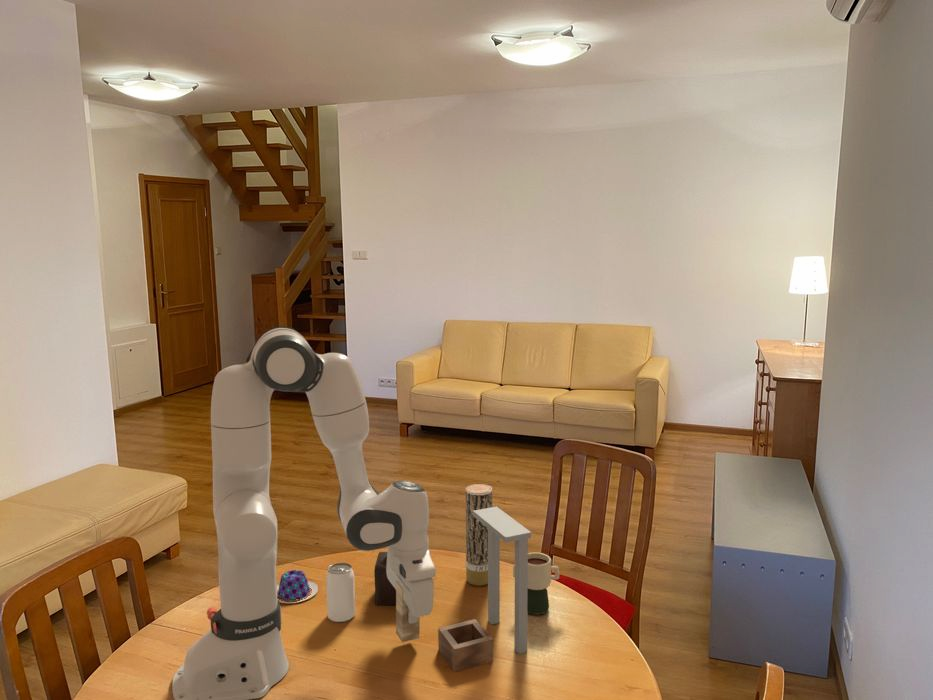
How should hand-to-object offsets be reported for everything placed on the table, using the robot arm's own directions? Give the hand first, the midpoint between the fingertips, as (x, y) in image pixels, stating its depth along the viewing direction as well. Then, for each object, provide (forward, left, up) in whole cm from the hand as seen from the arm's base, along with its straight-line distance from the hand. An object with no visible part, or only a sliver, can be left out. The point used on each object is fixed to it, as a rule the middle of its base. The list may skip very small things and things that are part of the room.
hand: (407, 615), depth 152 cm
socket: (+10, -9, -7) cm, 15 cm away
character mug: (+33, +1, -7) cm, 33 cm away
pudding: (-18, +34, -7) cm, 39 cm away
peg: (0, 0, -5) cm, 5 cm away
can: (-10, +18, -7) cm, 22 cm away
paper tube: (+27, +20, -7) cm, 34 cm away
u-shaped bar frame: (+20, -6, -7) cm, 22 cm away
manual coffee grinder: (+3, +23, -7) cm, 24 cm away
